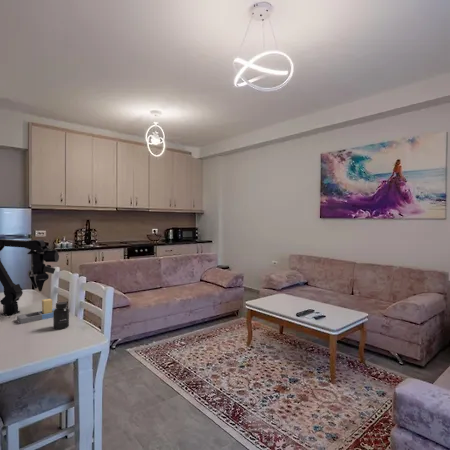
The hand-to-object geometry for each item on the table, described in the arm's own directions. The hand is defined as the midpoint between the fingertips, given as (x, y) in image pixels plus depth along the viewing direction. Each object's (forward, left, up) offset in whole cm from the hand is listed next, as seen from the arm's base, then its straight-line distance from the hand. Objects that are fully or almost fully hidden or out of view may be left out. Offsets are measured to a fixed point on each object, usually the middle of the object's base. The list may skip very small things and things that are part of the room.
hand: (38, 289), depth 174 cm
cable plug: (+9, -5, -13) cm, 17 cm away
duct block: (+7, -7, -13) cm, 17 cm away
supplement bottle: (+28, -18, -13) cm, 36 cm away
